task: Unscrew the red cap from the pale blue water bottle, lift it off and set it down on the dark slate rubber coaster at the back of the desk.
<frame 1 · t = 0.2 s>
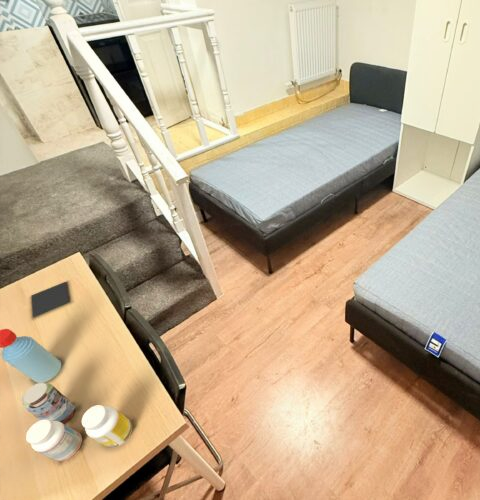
pill bottle 2: (119, 433, 79), on the table
water bottle: (47, 370, 91), on the table
cap: (1, 336, 79), point 18 cm above the table, screwed on, not yet turned
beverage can: (64, 415, 83), on the table
pill bottle: (69, 446, 78), on the table
coaster: (50, 299, 109), on the table
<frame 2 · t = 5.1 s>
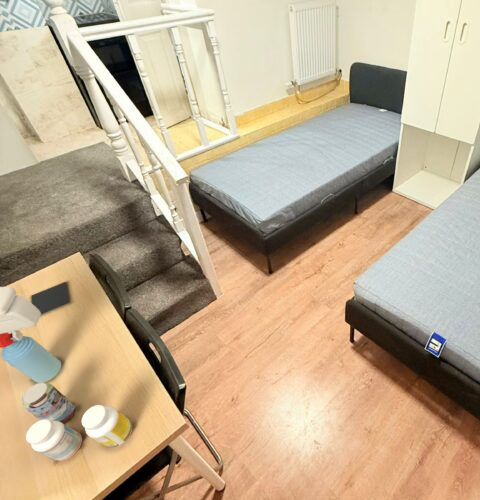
hand: (7, 340, 80), 16 cm above the table, tool pointing down, fingers closed on cap, 3 cm apart
cap: (1, 336, 79), point 18 cm above the table, screwed on, not yet turned, touching gripper
everything else where it was.
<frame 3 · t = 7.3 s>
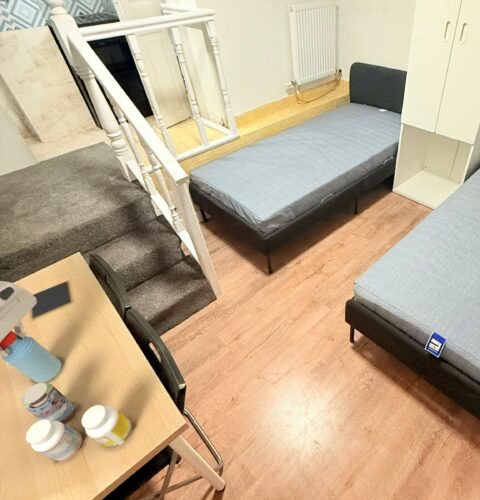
hand: (15, 344, 81), 14 cm above the table, tool pointing down, fingers closed on water bottle, 3 cm apart
water bottle: (47, 370, 91), on the table, touching gripper
cap: (1, 336, 79), point 18 cm above the table, turned 66° so far, risen 0.1 cm, still on its thread
everything else where it was.
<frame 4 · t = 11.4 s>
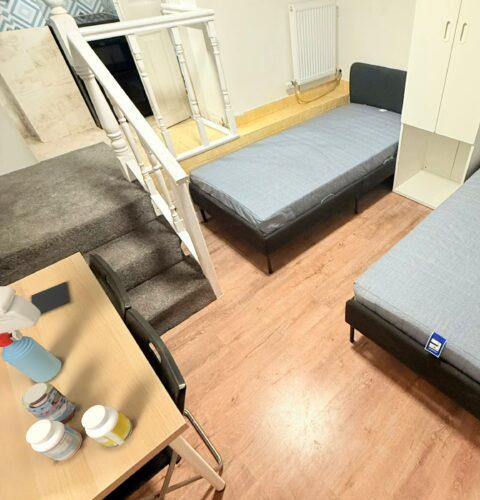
hand: (7, 340, 80), 16 cm above the table, tool pointing down, fingers closed on cap, 4 cm apart
water bottle: (47, 370, 91), on the table
cap: (1, 335, 79), point 18 cm above the table, turned 132° so far, risen 0.1 cm, still on its thread, touching gripper
everything else where it was.
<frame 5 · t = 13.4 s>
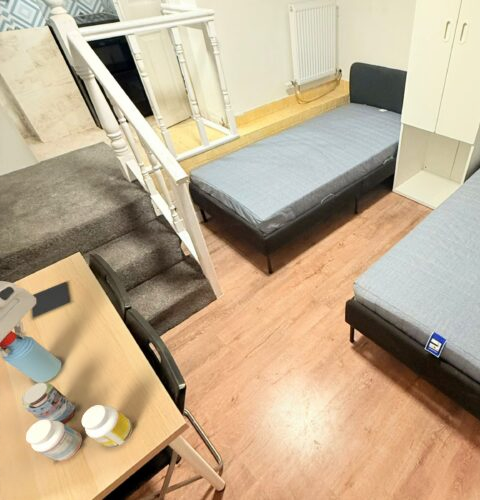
hand: (15, 345, 81), 14 cm above the table, tool pointing down, fingers closed on water bottle, 3 cm apart
water bottle: (47, 370, 91), on the table, touching gripper
cap: (1, 335, 79), point 18 cm above the table, turned 198° so far, risen 0.2 cm, still on its thread
everything else where it was.
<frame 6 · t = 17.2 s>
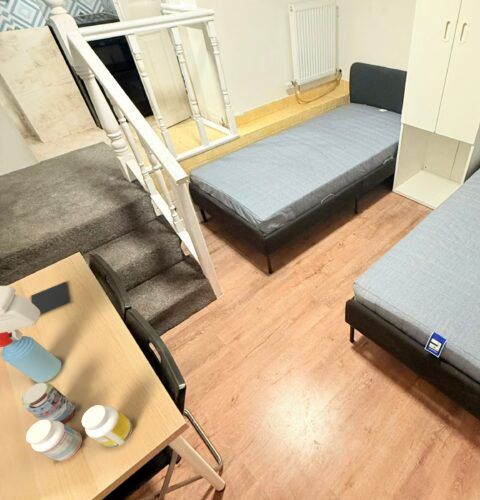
hand: (7, 340, 80), 16 cm above the table, tool pointing down, fingers closed on cap, 4 cm apart
water bottle: (47, 370, 91), on the table
cap: (0, 335, 78), point 18 cm above the table, turned 264° so far, risen 0.3 cm, still on its thread, touching gripper
everything else where it was.
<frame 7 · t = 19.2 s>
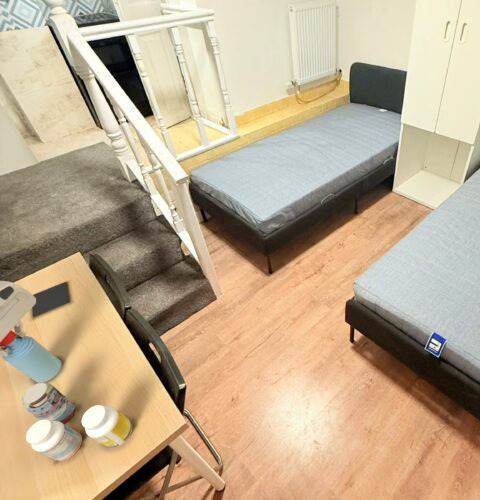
hand: (15, 344, 81), 14 cm above the table, tool pointing down, fingers closed on water bottle, 3 cm apart
water bottle: (47, 370, 91), on the table, touching gripper
cap: (0, 335, 78), point 18 cm above the table, turned 330° so far, risen 0.3 cm, still on its thread
everything else where it was.
when the fingers open (2 cm above the table, at t = 31.5 s): water bottle stays where it is, on the table.
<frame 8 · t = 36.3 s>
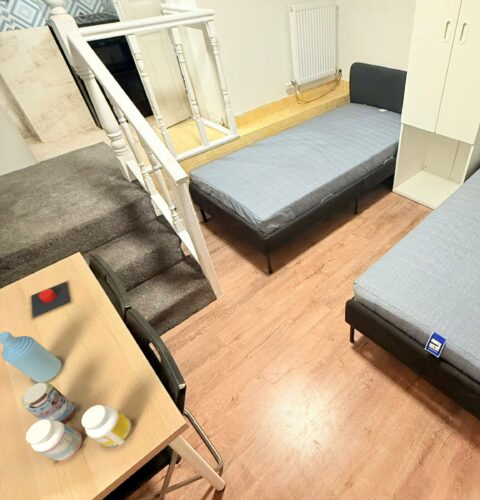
water bottle: (47, 370, 91), on the table
cap: (46, 294, 107), point 3 cm above the table, off its thread, touching coaster
everything else where it was.
at the end: cap came off its thread; cap inside the target area on the coaster (0.1 cm from its centre), point 2.6 cm above the coaster's base; the gripper is holding nothing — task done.
